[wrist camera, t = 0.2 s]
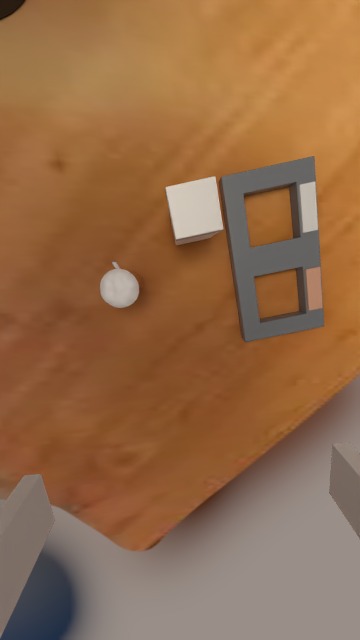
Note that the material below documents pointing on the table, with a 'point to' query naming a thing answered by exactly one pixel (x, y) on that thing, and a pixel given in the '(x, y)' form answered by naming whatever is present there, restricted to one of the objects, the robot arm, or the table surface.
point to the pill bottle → (120, 287)
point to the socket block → (275, 247)
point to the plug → (194, 210)
